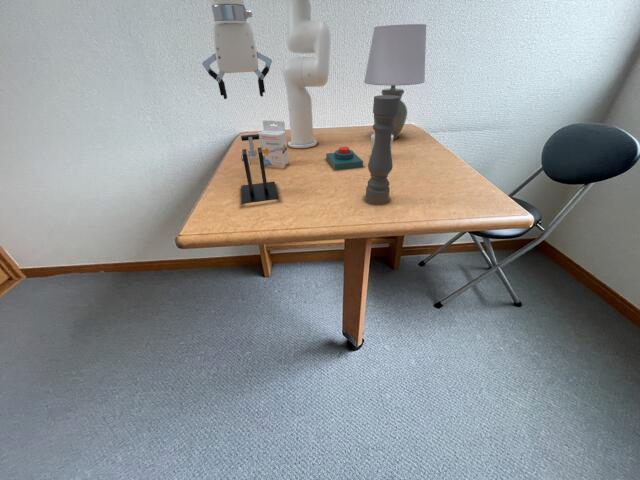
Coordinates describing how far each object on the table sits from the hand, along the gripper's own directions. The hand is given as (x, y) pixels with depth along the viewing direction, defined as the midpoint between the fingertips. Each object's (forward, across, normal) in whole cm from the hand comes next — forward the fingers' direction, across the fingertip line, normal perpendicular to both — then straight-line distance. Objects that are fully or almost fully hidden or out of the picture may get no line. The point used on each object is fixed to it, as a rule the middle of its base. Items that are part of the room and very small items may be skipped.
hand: (243, 97), depth 75 cm
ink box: (+24, -7, -11) cm, 27 cm away
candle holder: (+24, -31, +24) cm, 46 cm away
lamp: (+25, -60, -32) cm, 72 cm away
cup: (+24, -45, -6) cm, 51 cm away
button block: (+24, -31, -6) cm, 40 cm away
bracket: (+24, 0, +12) cm, 27 cm away
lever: (+13, 0, +7) cm, 15 cm away
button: (+20, -31, -6) cm, 37 cm away
